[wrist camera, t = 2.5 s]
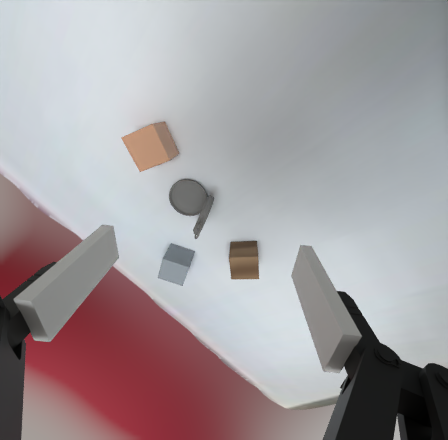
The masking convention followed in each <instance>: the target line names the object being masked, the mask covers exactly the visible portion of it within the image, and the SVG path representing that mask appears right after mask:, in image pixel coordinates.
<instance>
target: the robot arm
mask: <svg viewBox="0 0 448 440" xmlns="http://www.w3.org/2000/svg"><path fill="white" fill-rule="evenodd" d="M118 258H119V255H118V250H117V244H116V238H115V232H114V226H110V225H102V226H100V227H99V228H98V229H97V230H96V231H94V232H93V233H92V234H91V235H90V236H88V237H87V238H86V239H85V240H84V241H82V242H81V243H80V244H79V245H78V246H77V247H75V248H74V249H73V250H72V251H70V253H68V254H67V255H66V256H65V257H63V258H62V259H61V260H60V261H58V262H53V263H51V264H49V265H47V266H45V267H43V268H41V269H40V270H39V271H38V272H36V273H35V274H34V276H31V277H30V278H29V279H28V280H27V281H25V282H24V283H23V284H21V285H20V286H19V287H18V288H16V289H15V290H14V291H13V292H11V293H10V294H9V295H8V296H6V297H5V298H4V299H2V298H1V297H0V440H21V431H22V411H23V390H24V370H25V351H26V343H25V340H24V338H25V337H26V336H27V335H28V334H29V333H31V335H32V337H33V339H34V340H37V341H46V342H51V340H52V339H53V338H54V337H55V335H56V334H57V333H58V332H59V330H60V329H61V328H62V327H63V326H64V324H65V323H66V322H67V321H68V319H69V318H70V317H71V316H72V314H73V313H74V312H75V311H76V310H77V308H78V307H79V306H80V304H81V303H82V302H83V301H84V300H85V298H86V297H87V296H88V295H89V293H90V292H91V291H92V290H93V289H94V288H95V286H96V285H97V284H98V283H99V281H100V280H101V279H102V278H103V276H104V275H105V274H106V273H107V271H108V270H109V269H110V268H111V267H112V265H113V264H114V263H115V262H116V261H117V259H118ZM291 276H292V279H293V282H294V285H295V288H296V291H297V294H298V297H299V300H300V303H301V306H302V309H303V312H304V315H305V318H306V321H307V324H308V327H309V330H310V333H311V336H312V339H313V342H314V345H315V348H316V351H317V354H318V357H319V360H320V363H321V366H322V369H323V372H333V373H340V372H341V370H342V368H343V367H345V369H346V372H347V374H348V376H347V377H346V379H345V380H344V382H343V384H342V385H341V387H340V388H342V390H341V392H340V395H339V398H338V400H337V403H336V406H335V408H334V411H333V414H332V416H331V419H330V422H329V424H328V427H327V430H326V432H325V435H324V437H323V440H393V437H394V431H395V424H396V417H398V424H399V431H400V438H401V440H448V369H447V368H445V367H443V366H441V365H438V364H435V363H428V364H427V365H426V366H425V367H424V368H420V367H417V366H415V365H412V364H410V363H407V362H405V361H402V360H401V359H400V358H399V356H398V355H397V354H396V353H395V352H394V351H393V350H391V349H390V348H389V347H387V346H386V345H384V344H381V343H380V342H379V340H378V339H377V337H376V336H375V334H374V332H373V331H372V329H371V328H370V326H369V324H368V323H367V321H366V319H365V318H364V316H362V313H361V311H360V310H359V309H358V307H357V305H356V303H355V302H354V300H353V299H352V298H351V297H350V296H349V295H348V294H347V293H346V292H340V291H336V289H335V287H334V286H333V284H332V282H331V280H330V278H329V277H328V275H327V273H326V271H325V269H324V268H323V266H322V264H321V262H320V261H319V259H318V257H317V255H316V253H315V252H314V250H313V248H312V246H304V245H300V248H299V252H298V255H297V258H296V262H295V265H294V268H293V272H292V275H291Z"/></svg>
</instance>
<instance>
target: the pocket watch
mask: <svg viewBox="0 0 448 440" xmlns="http://www.w3.org/2000/svg"><path fill="white" fill-rule="evenodd" d="M169 200H170V203H171V205H172V206H173V208H174V209H175V210H176V211H177V212H179V213H180V214H183V215H186V216H195V215H197V214H199V213H200V215H199V218H198V220H197V223H196V225H195V227H194V230H193V232H194V234H195V239H197V238H198V236H199V234H200V232H201V230H202V228H203V226H204V224H205V221H206V219H207V217H208V214H209V212H210V209H211V207H212V204H213V201H214V197H212V196H208V197H207V194H206V192H205V190H204V188H203V187H202V186H201V185H200V184H199V183H197V182H195V181H192V180H181V181H178V182H177V183H175V184H174V185H173V186H172V188H171V190H170V193H169ZM196 235H197V237H196Z"/></svg>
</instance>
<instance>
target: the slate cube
mask: <svg viewBox="0 0 448 440" xmlns="http://www.w3.org/2000/svg"><path fill="white" fill-rule="evenodd" d="M194 252H195V251H192V250H189V249H186V248H183V247H180V246H178V245H175V244H172V243H171V245H170V246H169V248H168V250H167V252H166V254H165V256H164V257H163V260H162V264H161V267H160V271H159V275H158V278H159V279H163V280H166V281H169V282H172V283H175V284H178V285H181V286H183V283H184V281H185V278H186V275H187V272H188V269H189V267H190V264H191V261H192V258H193V255H194Z"/></svg>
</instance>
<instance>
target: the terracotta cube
mask: <svg viewBox="0 0 448 440" xmlns="http://www.w3.org/2000/svg"><path fill="white" fill-rule="evenodd" d="M122 140H123V142H124V144H125V146H126V147H127V149H128V151H129V153H130V155H131V156H132V158H133V160H134V162H135V164H136V166H137V167H138V169H139V171H140V172H141V171H144V170H147V169H149V168H152V167H154V166H157V165H159V164H162V163H165V162H167V161H170V160H171V159H173V158H174V157H175V156H177V155H178V154H179V152H178V150H177V148H176V145H175V143H174V141H173V139H172V136H171V134H170V132H169V130H168V128H167V125H166V123H165V122H161V123H155V124H151V125H149V126H147V127H144V128H142V129H140V130H138V131H135V132H133V133H131V134H129V135H126V136H124V137H122Z"/></svg>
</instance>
